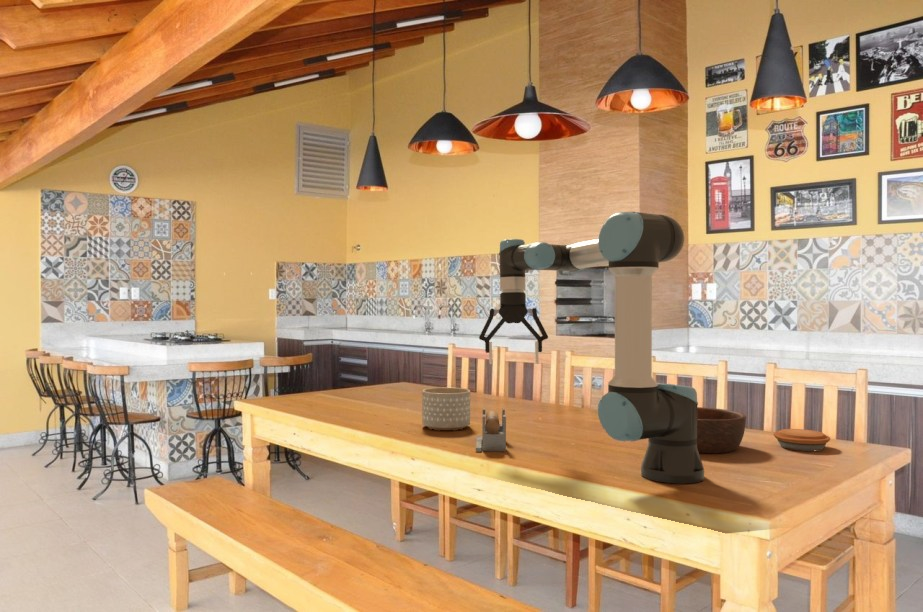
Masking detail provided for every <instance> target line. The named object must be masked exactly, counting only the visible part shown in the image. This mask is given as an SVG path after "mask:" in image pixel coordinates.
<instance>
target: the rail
mask: <svg viewBox="0 0 923 612" xmlns="http://www.w3.org/2000/svg"><path fill="white" fill-rule="evenodd" d="M499 418H500V417H499V414H498V412H497V411H495V410H489V411H487V413H485V424H486V431H487V432H488V433H489V434H491V435H494V434H497V433H498V432H499V429H500V426H499V424H500V419H499Z"/></svg>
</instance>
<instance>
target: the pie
mask: <svg viewBox="0 0 923 612" xmlns="http://www.w3.org/2000/svg"><path fill="white" fill-rule="evenodd" d="M772 435H773V436H774V438H775V439H777V442H778V443H779V445H780V447H781V448H783V447H785V448H784V449H786V448H788V449H787V450H791V449H794V450H793V451H798V450H801V452H815V451H814V450H820V451H822V450H824V448H825V447H826V445H827V443H828V442H829V441H831V437H830V436H828V435H826V434H825V433H824V432H821V431H817V430H812V429H802V428H784V429H780V430H777V431H775V432H773V433H772ZM821 449H822V450H821Z"/></svg>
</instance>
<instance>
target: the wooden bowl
mask: <svg viewBox="0 0 923 612" xmlns="http://www.w3.org/2000/svg"><path fill="white" fill-rule="evenodd" d="M746 424H747V416H746V415H745V413H741V412H738V411H736V410H735V411H734V410H729V409H724V408H713V407H698V406H697V449H698V452H699V454H700V453H701V454H727V453H732V452H734V451H736V450H737V449H739V447H740V445H741V443H742V440H743V439H744V435H745V431H746Z"/></svg>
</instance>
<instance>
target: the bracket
mask: <svg viewBox="0 0 923 612" xmlns="http://www.w3.org/2000/svg"><path fill="white" fill-rule="evenodd" d="M499 426H500V429H499V432H498V433H497V434H494V435H491V434H489V433H488V432H487V431H486V407H482V428H481V429H482V435H481V434H480V435H479V434H478V435H476V441H475V453H482V452H506V451H507V415H506V408H501V423H499Z"/></svg>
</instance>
